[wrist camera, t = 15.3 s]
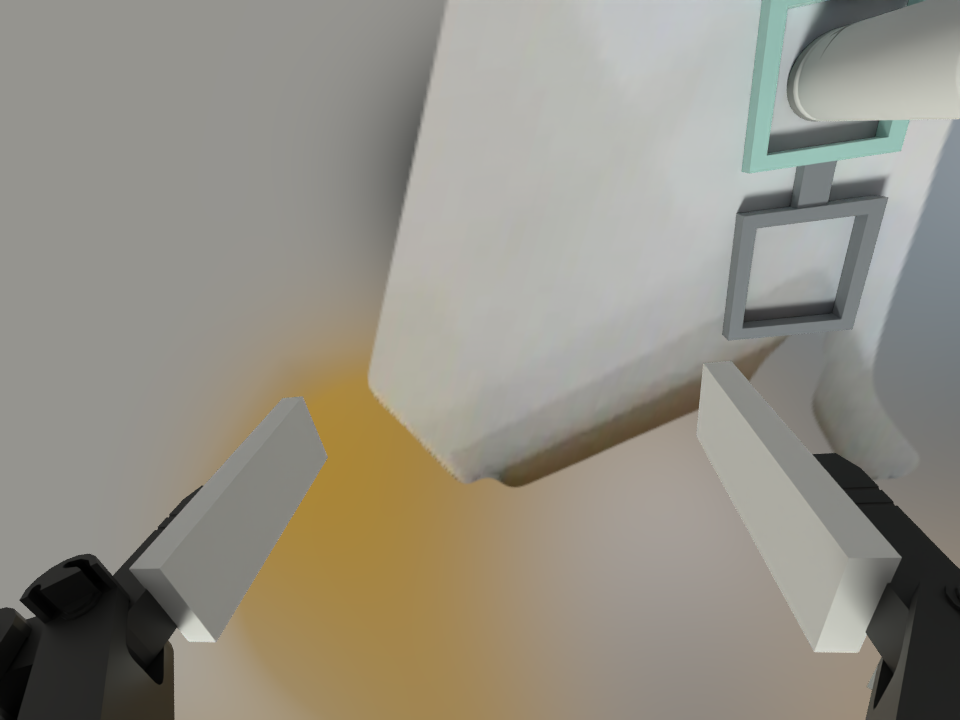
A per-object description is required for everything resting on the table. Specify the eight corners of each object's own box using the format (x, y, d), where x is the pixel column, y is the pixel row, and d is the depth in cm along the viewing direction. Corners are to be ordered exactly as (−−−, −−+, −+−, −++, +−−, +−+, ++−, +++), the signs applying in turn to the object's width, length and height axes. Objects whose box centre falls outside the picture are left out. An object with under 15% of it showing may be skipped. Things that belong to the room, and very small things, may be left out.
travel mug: (800, 25, 33) (1111, -90, 15) (890, 30, 32) (1313, -83, 15) (768, 118, 36) (998, 111, 18) (850, 124, 35) (1164, 121, 18)
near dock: (762, -6, 32) (772, -12, 31) (937, -42, 30) (955, -50, 29) (741, 171, 38) (749, 173, 37) (887, 150, 36) (900, 151, 35)
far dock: (741, 171, 38) (749, 173, 37) (887, 150, 36) (900, 151, 35) (722, 334, 45) (728, 340, 44) (842, 323, 43) (852, 329, 42)
